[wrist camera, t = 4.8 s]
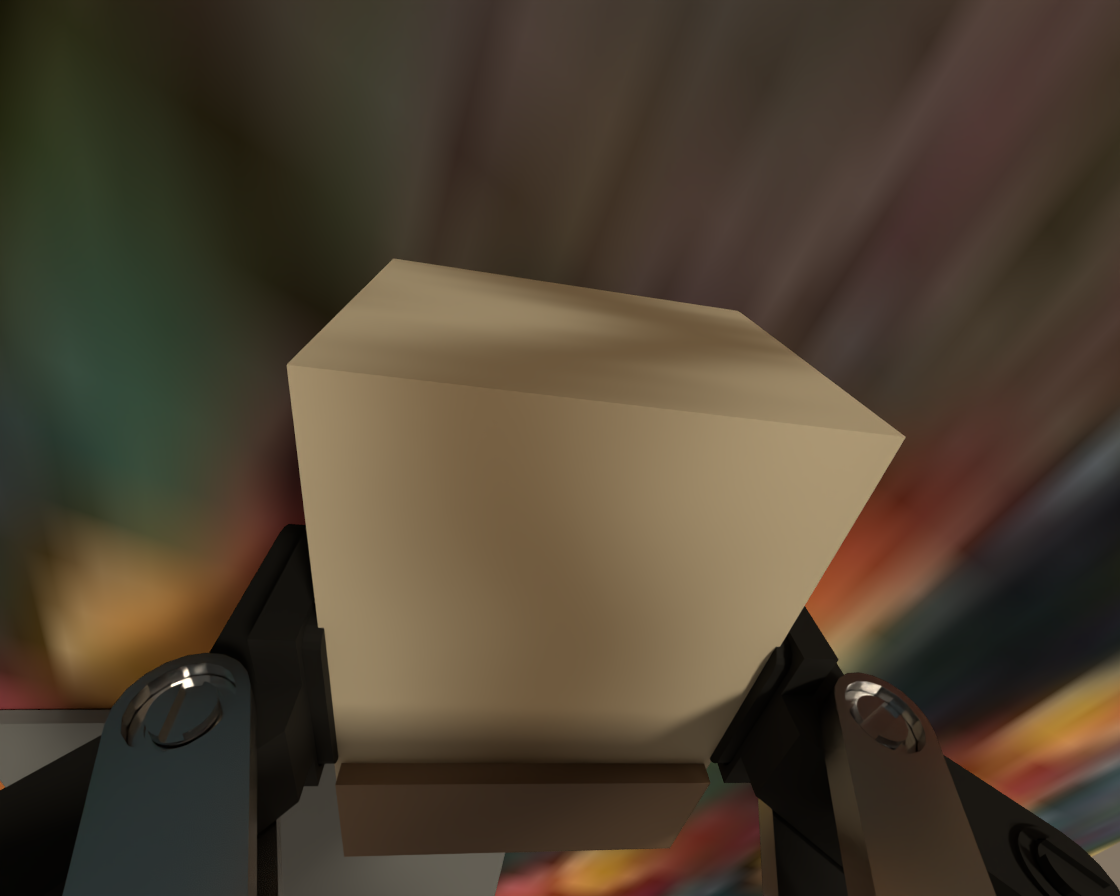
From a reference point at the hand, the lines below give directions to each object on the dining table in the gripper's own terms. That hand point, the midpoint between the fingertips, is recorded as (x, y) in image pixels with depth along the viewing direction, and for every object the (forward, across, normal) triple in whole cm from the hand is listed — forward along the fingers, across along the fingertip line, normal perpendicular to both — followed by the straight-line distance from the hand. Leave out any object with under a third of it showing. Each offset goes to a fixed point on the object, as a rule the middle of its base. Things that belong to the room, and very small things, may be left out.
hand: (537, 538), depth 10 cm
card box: (+1, 0, 0) cm, 1 cm away
